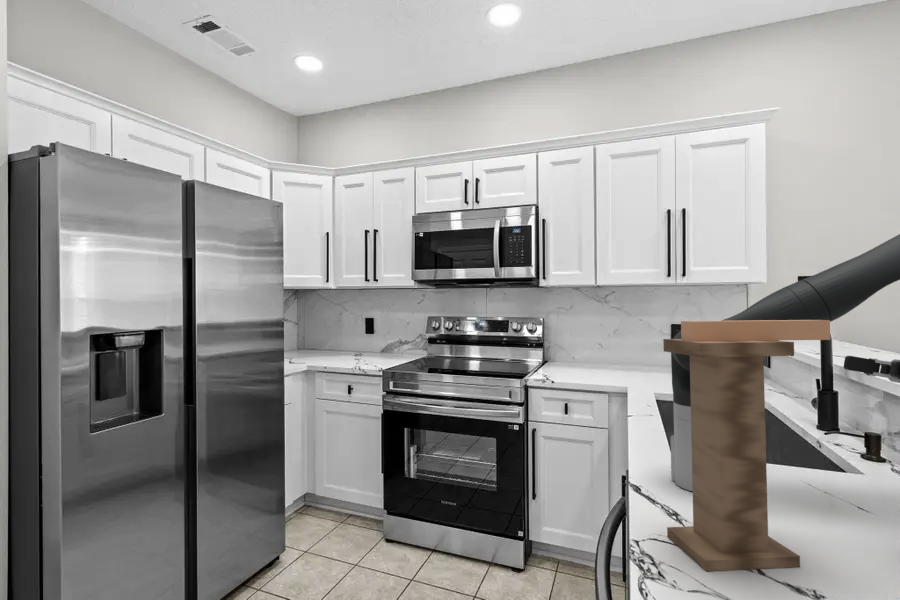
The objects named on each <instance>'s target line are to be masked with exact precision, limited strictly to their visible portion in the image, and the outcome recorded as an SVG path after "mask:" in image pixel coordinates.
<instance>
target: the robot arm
mask: <svg viewBox="0 0 900 600" xmlns="http://www.w3.org/2000/svg"><path fill="white" fill-rule="evenodd" d="M898 281H900V233H899V234H897V235H895V236H894V237H891V238H890V239H888V240H886V241H884V242H883V243H880V244H879V245H876V246H875V247H873V248H871V249H869V250H867V251H865V252H863V253H861V254H859V255H857V256H855V257H853V258H851V259H848V260H845V261H843V262H841V263H838V264H836V265H834V266H832V267H829V268H826V269H825V270H822V271H820V272H818V273H816V274H813V275H811V276H808V277H806V278H802V279H800V280H798V281H796V282H794V283H791V284H789V285H786V286H783V287H782V288H780V289H778V290H776V291H774V292H772V293H770V294H769V295H766V296H765V297H763V298H762V299H760V300H758V301H756V302H755V303H753V304H752V305H751V306H748V307H747V308H746V309H744V310H743V311H741V312H739V313H736V314H734V315H733V316H730V317H727V318H724V319H722V320H720V321H753V320H830V323H831V322H833V321H836V320H837V319H840V318H841V317H843V316H844V315H847V314H848V313H849V312H851V311H852V310H854V309H855V308H857V307H858V306H860V305H861V304H863V303H864V302H865V301H867V300H868V299H869V298H871V297H872V296H873V295H875V294H876V293H878V292H879V291H880V290H882V289H884V288H885V287H888V286H890V285H891V284H893V283H895V282H898ZM673 339H681V330H680V331H678V332H677V333H676V334H675V335H674V337H673ZM776 341H780V340H776ZM670 359H671V360H670V362H671V363H670V365H671V388H672V396H673V398H672V400H673V435H671V436H670V474H671V475H670V476H671V477H670V478H671V480H672V481H673V482H674V483H675V484H676V485H677V486H678V487H679V488H681V489H683V490H686V491H690V492H693V486H692V441H691V395H690V355H684V354H677V353H671V352H670ZM843 369H844V370H846V371H852V372H857V373H863V374H865V375H866V376H870V377H881V378H886V379H888V380H889V381H890V382H891V383H897V384H900V359H893V360H891V361H888V360H881V359H878V358H871V357H869V358H866V357H860V356H859V357H858V356H853V355H846V356H845V357H844V361H843Z"/></svg>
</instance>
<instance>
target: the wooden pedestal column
mask: <svg viewBox="0 0 900 600" xmlns="http://www.w3.org/2000/svg"><path fill="white" fill-rule="evenodd" d="M662 339H663V352H666V353H670V354H671V353H677V354H684V355H690V395H691V441H692V486H693V491H692V519H693V520H692V522H693V523H692V524H693V525H692V526H691V525H690V526H669V527H668V526H667V527H666V528H667V529H666V530H667V531H666V534H667V535H666V536H667V538H668V539H669V540H670V541H671V542H673V543H674V544H675V545H676V546H677V547H678V548H679V549H681V551H683V552H684V553H685V554H686V555H688V557H689V558H690V559H692V560H693V561H694V562H695V563H696V564H697V565H698V566H699V567H700V568H702V569H703V570H704V571H705V572H723V571H725V572H727V571H739V570H740V571H743V570H744V571H745V570H762V569H763V570H765V569H780V568H781V569H782V568H783V569H784V568H785V569H786V568H800V567H801V556H800V555H799V554H797V553H796V552H794V551H792V550H791V549H790V548H788V547H786V546H785V545H784V544H781V543H780V542H778V541H777V540H775V539H774V538H773V537H771V536H769V521H768V519H769V518H768V516H769V515H768V488H767V487H768V478H767V477H768V475H767V442H766V441H767V440H766V439H767V437H766V436H767V435H766V405H765V404H766V403H765V402H766V401H765V371H764V370H765V367H764V365H765V363H764V357H794V356H795V342H794V341H789V340H779V341H696V342H693V341H683V340H681V339H674V338H662Z"/></svg>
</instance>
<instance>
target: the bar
mask: <svg viewBox="0 0 900 600" xmlns="http://www.w3.org/2000/svg"><path fill="white" fill-rule="evenodd" d="M680 331H681V340H683V341H693V342H696V341H776V340H779V341H831V322H830V320H753V321H721V320H681V321H680Z"/></svg>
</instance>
